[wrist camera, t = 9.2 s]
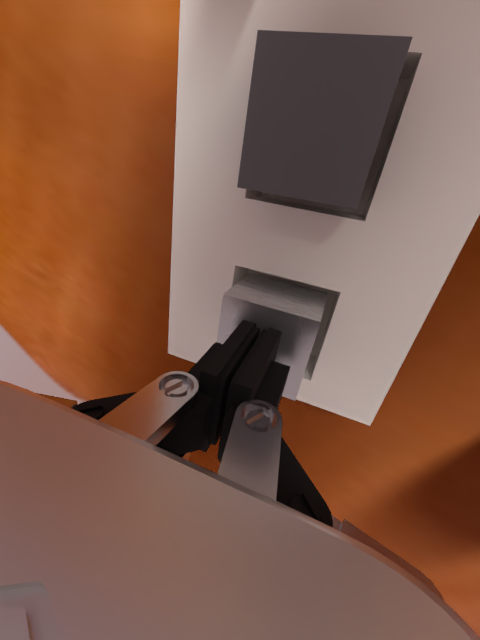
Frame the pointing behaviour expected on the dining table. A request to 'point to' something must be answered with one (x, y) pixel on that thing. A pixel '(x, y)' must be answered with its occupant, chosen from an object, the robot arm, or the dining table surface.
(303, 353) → the button grey
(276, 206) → the panel
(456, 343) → the dining table surface
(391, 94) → the button black
